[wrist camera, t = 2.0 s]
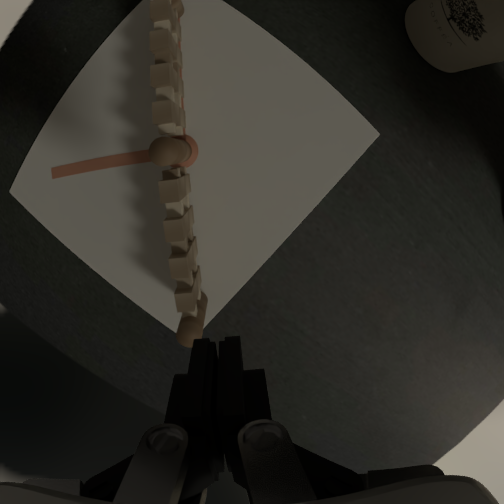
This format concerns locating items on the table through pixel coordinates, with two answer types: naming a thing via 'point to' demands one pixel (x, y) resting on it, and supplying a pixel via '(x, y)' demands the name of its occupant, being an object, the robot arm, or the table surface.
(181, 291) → the fence gate
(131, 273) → the card
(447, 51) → the travel mug
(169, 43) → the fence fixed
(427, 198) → the table surface
